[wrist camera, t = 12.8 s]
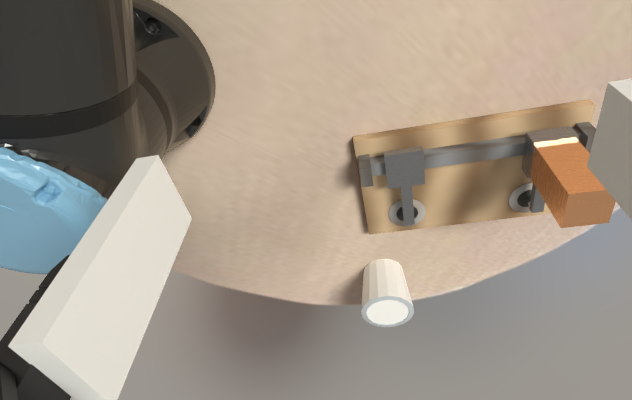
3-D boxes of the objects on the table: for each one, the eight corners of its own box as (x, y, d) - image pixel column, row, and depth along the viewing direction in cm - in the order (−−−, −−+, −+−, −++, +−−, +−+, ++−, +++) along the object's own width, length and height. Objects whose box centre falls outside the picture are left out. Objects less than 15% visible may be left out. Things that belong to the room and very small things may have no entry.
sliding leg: (511, 204, 48) (548, 276, 40) (521, 125, 41) (568, 191, 33) (547, 200, 47) (593, 272, 39) (563, 118, 41) (622, 184, 32)
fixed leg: (391, 219, 50) (392, 229, 49) (382, 146, 44) (383, 156, 42) (424, 215, 50) (427, 225, 48) (420, 140, 43) (423, 150, 42)
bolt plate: (368, 228, 54) (370, 249, 51) (353, 136, 45) (354, 155, 42) (565, 204, 50) (580, 226, 47) (589, 99, 41) (609, 118, 38)
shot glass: (349, 272, 59) (350, 313, 54) (384, 248, 56) (389, 289, 50) (381, 293, 62) (386, 333, 57) (417, 271, 59) (425, 312, 53)
